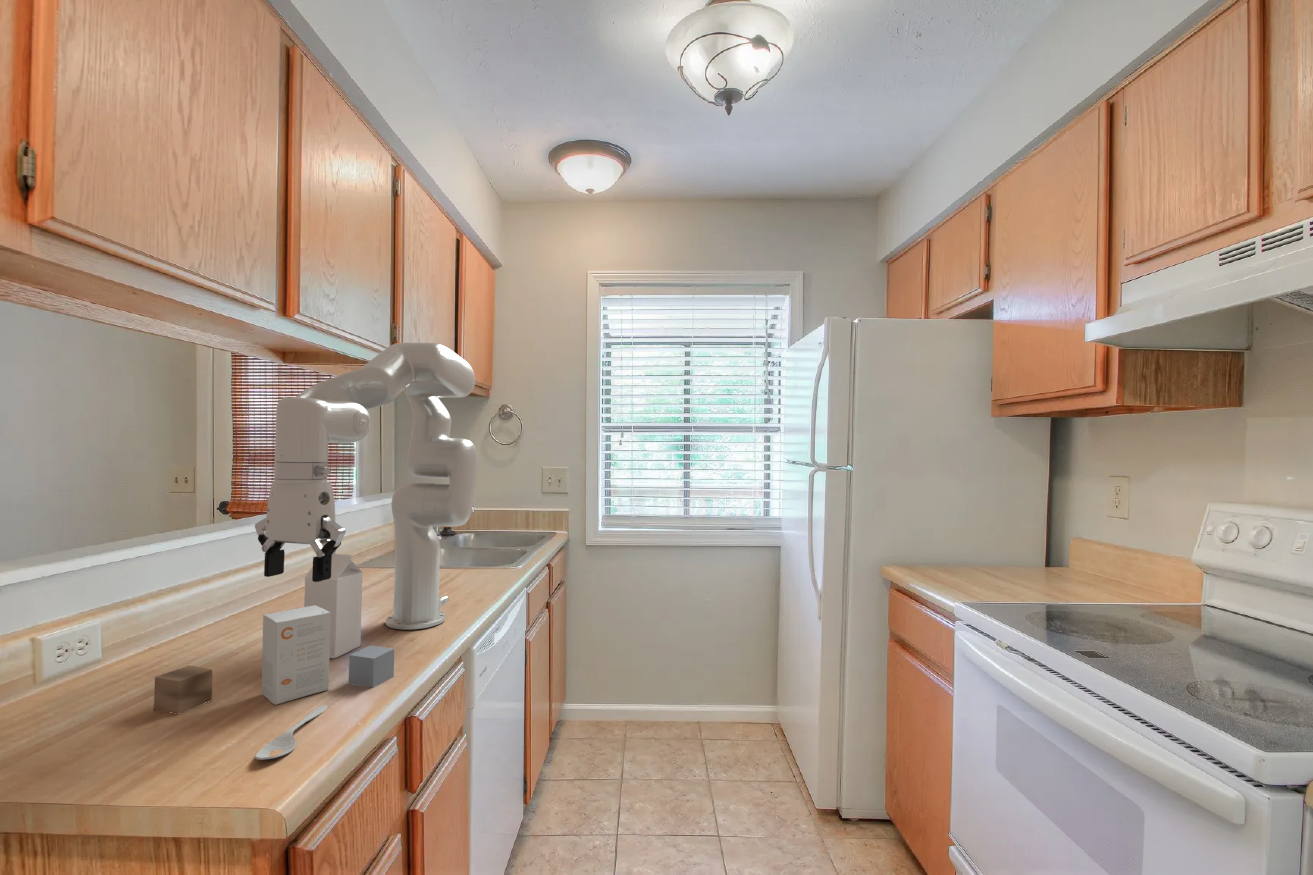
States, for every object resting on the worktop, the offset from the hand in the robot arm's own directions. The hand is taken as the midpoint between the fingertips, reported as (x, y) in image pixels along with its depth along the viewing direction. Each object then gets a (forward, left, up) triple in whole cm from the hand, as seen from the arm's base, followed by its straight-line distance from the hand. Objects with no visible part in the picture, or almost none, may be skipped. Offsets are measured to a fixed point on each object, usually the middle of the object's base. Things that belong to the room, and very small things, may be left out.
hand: (297, 577), depth 97 cm
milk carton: (-17, -9, -19) cm, 27 cm away
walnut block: (+9, -12, -19) cm, 24 cm away
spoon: (+9, +11, -19) cm, 24 cm away
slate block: (-8, +8, -19) cm, 22 cm away
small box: (0, 0, -19) cm, 19 cm away
